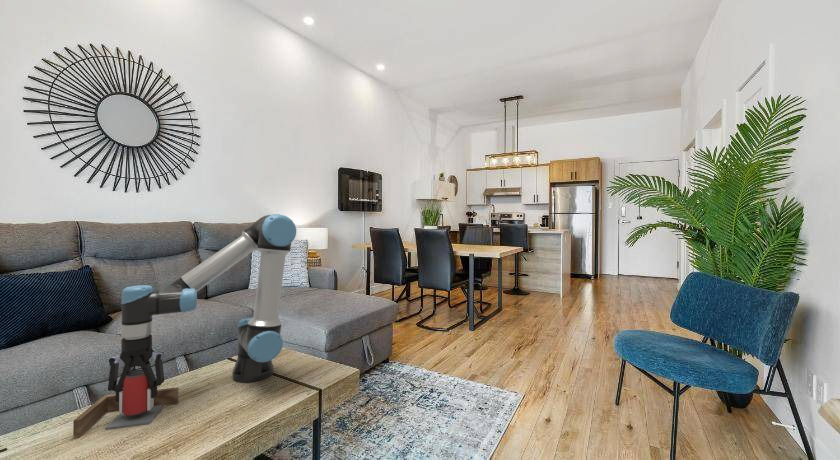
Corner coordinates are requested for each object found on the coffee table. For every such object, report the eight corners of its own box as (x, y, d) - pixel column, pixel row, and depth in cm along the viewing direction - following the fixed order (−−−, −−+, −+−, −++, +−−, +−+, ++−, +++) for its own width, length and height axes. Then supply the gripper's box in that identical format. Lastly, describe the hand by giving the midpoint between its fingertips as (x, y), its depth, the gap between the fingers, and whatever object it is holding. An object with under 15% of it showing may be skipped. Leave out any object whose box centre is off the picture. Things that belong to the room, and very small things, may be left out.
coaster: (163, 406, 118) (163, 404, 118) (149, 424, 107) (149, 422, 107) (123, 411, 114) (123, 409, 114) (105, 429, 104) (105, 427, 104)
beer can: (117, 415, 108) (117, 376, 108) (138, 404, 115) (138, 367, 115) (135, 418, 107) (135, 378, 107) (155, 407, 113) (155, 369, 113)
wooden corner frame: (178, 401, 121) (178, 387, 121) (160, 426, 106) (160, 409, 106) (104, 410, 115) (104, 395, 115) (73, 438, 100) (73, 420, 100)
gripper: (177, 330, 117) (177, 399, 117) (105, 334, 111) (105, 408, 112) (169, 336, 110) (168, 411, 110) (91, 342, 104) (91, 420, 104)
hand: (136, 409), depth 111 cm, fingers closed on beer can, 6 cm apart
